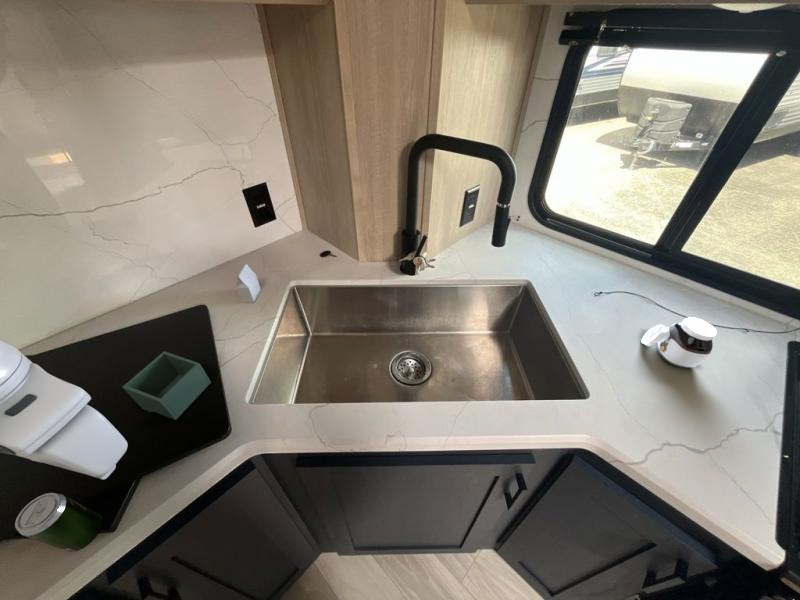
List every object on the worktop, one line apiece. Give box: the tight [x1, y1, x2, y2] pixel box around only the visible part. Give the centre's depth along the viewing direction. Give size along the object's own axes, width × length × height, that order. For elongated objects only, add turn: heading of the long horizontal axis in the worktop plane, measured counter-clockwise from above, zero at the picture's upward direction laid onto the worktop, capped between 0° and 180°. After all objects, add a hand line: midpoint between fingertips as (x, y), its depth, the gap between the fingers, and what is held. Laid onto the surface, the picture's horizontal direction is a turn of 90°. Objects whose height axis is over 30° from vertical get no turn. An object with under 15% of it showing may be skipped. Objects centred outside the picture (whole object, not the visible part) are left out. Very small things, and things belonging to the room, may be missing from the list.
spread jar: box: [641, 316, 718, 369], centre depth 84 cm, size 12×11×12 cm
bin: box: [121, 350, 212, 421], centre depth 72 cm, size 10×10×9 cm
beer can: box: [14, 492, 104, 553], centre depth 50 cm, size 5×5×12 cm
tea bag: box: [235, 263, 262, 304], centre depth 99 cm, size 4×7×10 cm, turn 1°
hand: (75, 463), depth 40 cm, fingers open, 8 cm apart
